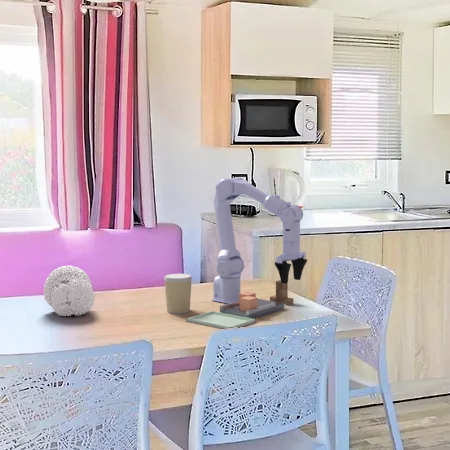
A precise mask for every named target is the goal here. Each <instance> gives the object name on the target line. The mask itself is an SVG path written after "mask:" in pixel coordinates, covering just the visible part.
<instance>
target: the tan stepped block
mask: <svg viewBox="0 0 450 450" xmlns="http://www.w3.org/2000/svg"><path fill="white" fill-rule="evenodd" d="M288 283H289V282H288ZM288 283H287V284H285V283H281V279H278V280H276V281H275V295H272V296H269V301H274V302H280V303H284V304H286V305H285V306H291V305H294V298H293V297H288V295H289V293H288V292H289V289H288V287H289V286H288ZM290 304H291V305H290Z"/></svg>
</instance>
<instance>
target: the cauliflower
mask: <svg viewBox="0 0 450 450" xmlns="http://www.w3.org/2000/svg"><path fill="white" fill-rule="evenodd" d="M43 285H44V286H43V288H42V289H43V297H44V299H43V300H44V301H45V302H46V303H47V304H48V305H49V306H50V307H51V309H52V310H53V311H54V313H55V314H57V315H58V316H59V317H66V316H68V317H72V316H73V315H74V316H75V317H76V316H77V317H80V316H82V314H83V315H85V314H86V313H88V312H89V311H90V310H91V308H93V305H94V301H95V291H94V289H93V287H92V281H91V279H90V277H89V275H88V274H87V273H86V272H85V271H84V270H83V269H81V268H79V267H78V266H73V265H63V266H60V267H56V269H54V270H52V271H51V272H50V273H49V275H47V277H46V279H45V282H44V284H43ZM71 315H72V316H71ZM79 315H80V316H79Z"/></svg>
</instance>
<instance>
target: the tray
mask: <svg viewBox="0 0 450 450" xmlns="http://www.w3.org/2000/svg"><path fill="white" fill-rule="evenodd" d="M186 322H189V323H194V324H198V325H203V326H207V327H212V328H216V329H217V328H218V329H222V330H224V329H223V328H234V327H239V328H241V327H242V328H243V327H245V326H248V325H252V324H254V323H256V318H255V319H252V318H247V317H242V316H237V315H231V314H226V313H221V312H220V311H215V310H211V311H207V312H204V313H201V314H197V315H196V314H195V315H193V316H190V317H187V318H186Z"/></svg>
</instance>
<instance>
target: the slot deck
mask: <svg viewBox="0 0 450 450" xmlns="http://www.w3.org/2000/svg"><path fill="white" fill-rule="evenodd" d="M282 309H283V310H285V305H284V303H280V302H274V301H270V300H269V299H261V298H257V308H254V309H251V310H248V311H243V310H240V305H239V301H236V302H232V303H224V304H222V305H219V312H221V313H226V314H231V315H237V316H242V317H247V318H252V319H255V320H256V319H257V318H260V317H263V316H267V315H271V314H274V313H276V312H280V311H282Z"/></svg>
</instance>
